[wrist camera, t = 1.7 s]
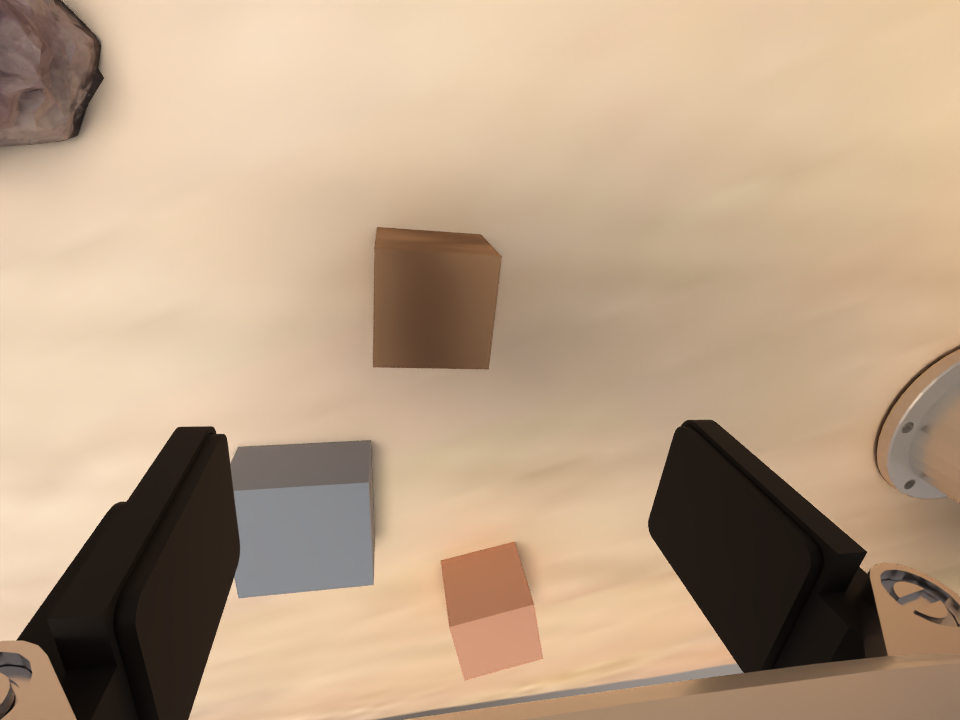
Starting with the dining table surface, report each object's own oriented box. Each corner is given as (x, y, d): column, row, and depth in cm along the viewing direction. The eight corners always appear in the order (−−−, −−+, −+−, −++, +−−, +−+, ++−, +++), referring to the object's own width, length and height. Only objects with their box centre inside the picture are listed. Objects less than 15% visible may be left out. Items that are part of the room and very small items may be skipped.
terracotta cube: (513, 540, 33) (533, 604, 29) (523, 592, 35) (543, 658, 31) (440, 559, 33) (449, 627, 28) (454, 610, 35) (464, 680, 30)
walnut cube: (480, 234, 24) (501, 256, 20) (471, 329, 26) (488, 369, 22) (376, 227, 24) (374, 248, 19) (375, 326, 25) (373, 367, 21)
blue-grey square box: (370, 438, 28) (368, 482, 25) (374, 532, 31) (373, 584, 28) (239, 444, 27) (217, 492, 23) (256, 542, 30) (238, 598, 26)
